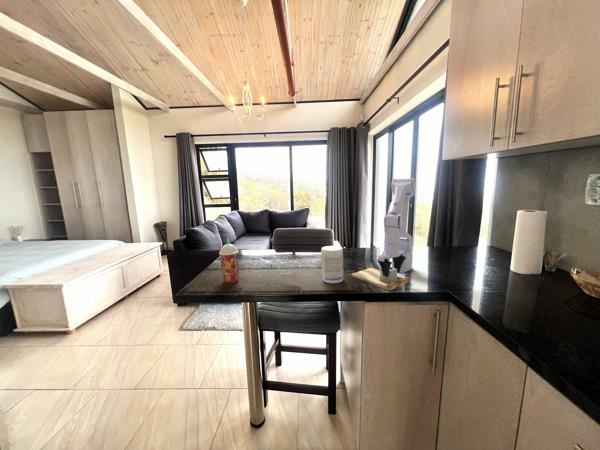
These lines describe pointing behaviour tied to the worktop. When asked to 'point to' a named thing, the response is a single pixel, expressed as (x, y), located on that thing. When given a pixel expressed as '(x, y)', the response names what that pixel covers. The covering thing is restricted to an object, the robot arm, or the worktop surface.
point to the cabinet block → (390, 275)
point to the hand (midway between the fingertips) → (391, 274)
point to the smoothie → (229, 262)
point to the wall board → (379, 279)
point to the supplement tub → (332, 264)
